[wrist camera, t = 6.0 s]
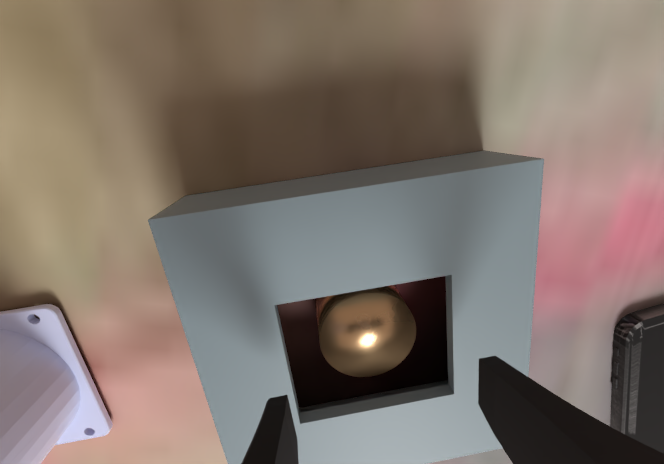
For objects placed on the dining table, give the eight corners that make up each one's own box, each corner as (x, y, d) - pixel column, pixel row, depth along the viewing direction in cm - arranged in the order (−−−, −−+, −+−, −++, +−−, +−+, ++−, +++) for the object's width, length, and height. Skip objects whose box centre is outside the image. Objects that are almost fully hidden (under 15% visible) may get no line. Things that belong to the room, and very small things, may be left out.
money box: (251, 428, 19) (240, 501, 16) (185, 195, 15) (148, 219, 11) (480, 383, 20) (523, 443, 16) (483, 150, 16) (543, 158, 12)
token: (322, 344, 18) (326, 384, 15) (309, 272, 17) (312, 302, 14) (399, 330, 18) (418, 367, 16) (393, 258, 17) (413, 285, 14)
